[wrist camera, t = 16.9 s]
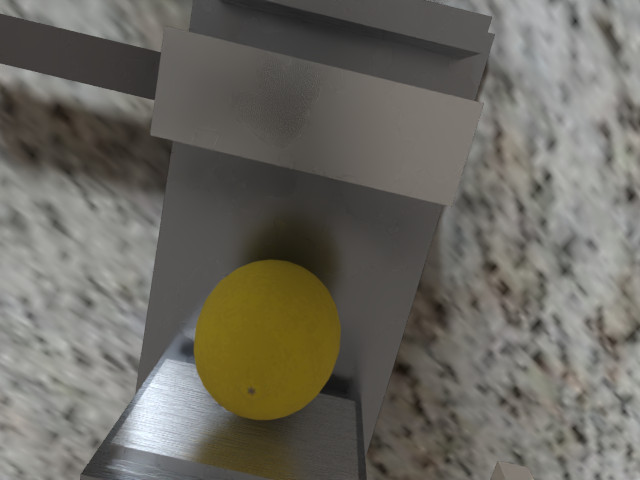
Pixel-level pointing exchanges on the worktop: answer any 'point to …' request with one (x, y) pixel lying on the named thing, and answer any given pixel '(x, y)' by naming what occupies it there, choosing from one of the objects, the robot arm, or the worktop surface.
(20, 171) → the worktop surface
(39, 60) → the free jaw
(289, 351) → the lemon
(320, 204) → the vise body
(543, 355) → the worktop surface
